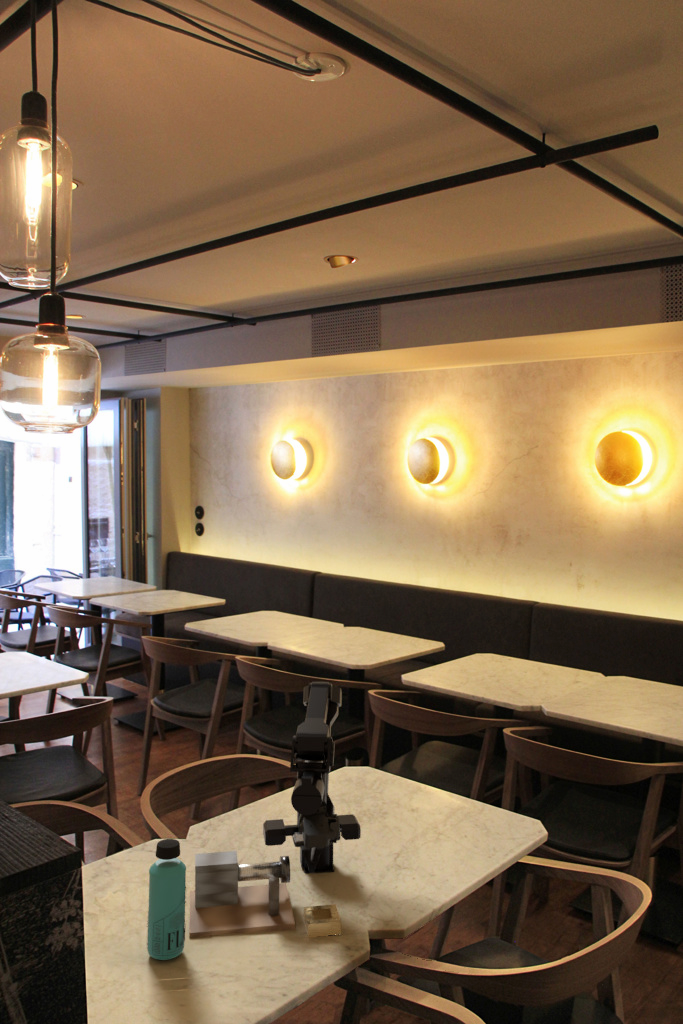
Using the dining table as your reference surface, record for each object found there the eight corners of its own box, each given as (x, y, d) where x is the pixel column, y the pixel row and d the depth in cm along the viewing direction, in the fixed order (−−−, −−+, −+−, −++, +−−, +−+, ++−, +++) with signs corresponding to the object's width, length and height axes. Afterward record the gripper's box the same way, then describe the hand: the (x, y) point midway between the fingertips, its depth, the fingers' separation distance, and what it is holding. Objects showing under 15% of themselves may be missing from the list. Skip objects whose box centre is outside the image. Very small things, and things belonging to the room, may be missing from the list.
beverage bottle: (165, 974, 132) (169, 854, 131) (137, 960, 135) (140, 844, 135) (192, 955, 137) (196, 840, 137) (164, 943, 141) (168, 831, 140)
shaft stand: (286, 888, 160) (286, 843, 160) (295, 929, 145) (295, 880, 145) (190, 896, 156) (190, 851, 156) (189, 939, 142) (189, 889, 141)
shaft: (287, 875, 158) (287, 851, 158) (290, 887, 153) (290, 862, 153) (213, 881, 156) (213, 857, 155) (213, 893, 151) (213, 868, 151)
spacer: (335, 917, 150) (335, 904, 149) (340, 935, 144) (341, 921, 144) (303, 920, 148) (303, 907, 148) (308, 938, 143) (308, 924, 142)
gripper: (268, 814, 146) (267, 897, 147) (366, 807, 150) (366, 888, 150) (263, 791, 157) (262, 868, 158) (355, 785, 161) (354, 861, 161)
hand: (311, 872), depth 157 cm, fingers closed
